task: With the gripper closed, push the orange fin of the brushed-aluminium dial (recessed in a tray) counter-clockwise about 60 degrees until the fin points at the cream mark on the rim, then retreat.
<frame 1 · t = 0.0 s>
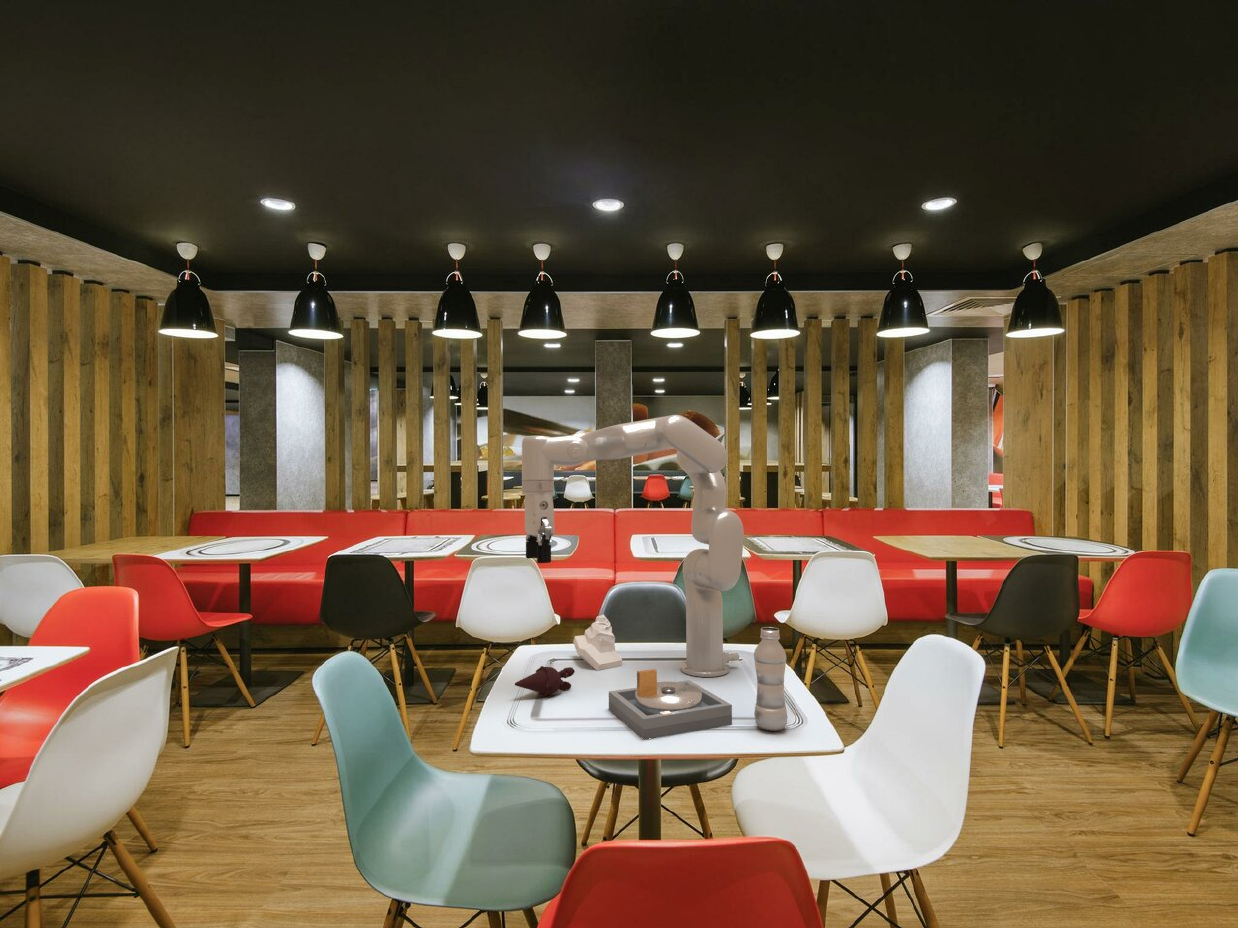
hand: (538, 560, 157), 31 cm above the table, fingers open, 9 cm apart
icecream: (545, 696, 155), on the table
plastic bottle: (770, 729, 135), on the table
tray: (668, 716, 141), on the table
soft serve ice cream: (597, 663, 182), on the table
dial: (668, 686, 141), point 6 cm above the table, hinge at 0.0°
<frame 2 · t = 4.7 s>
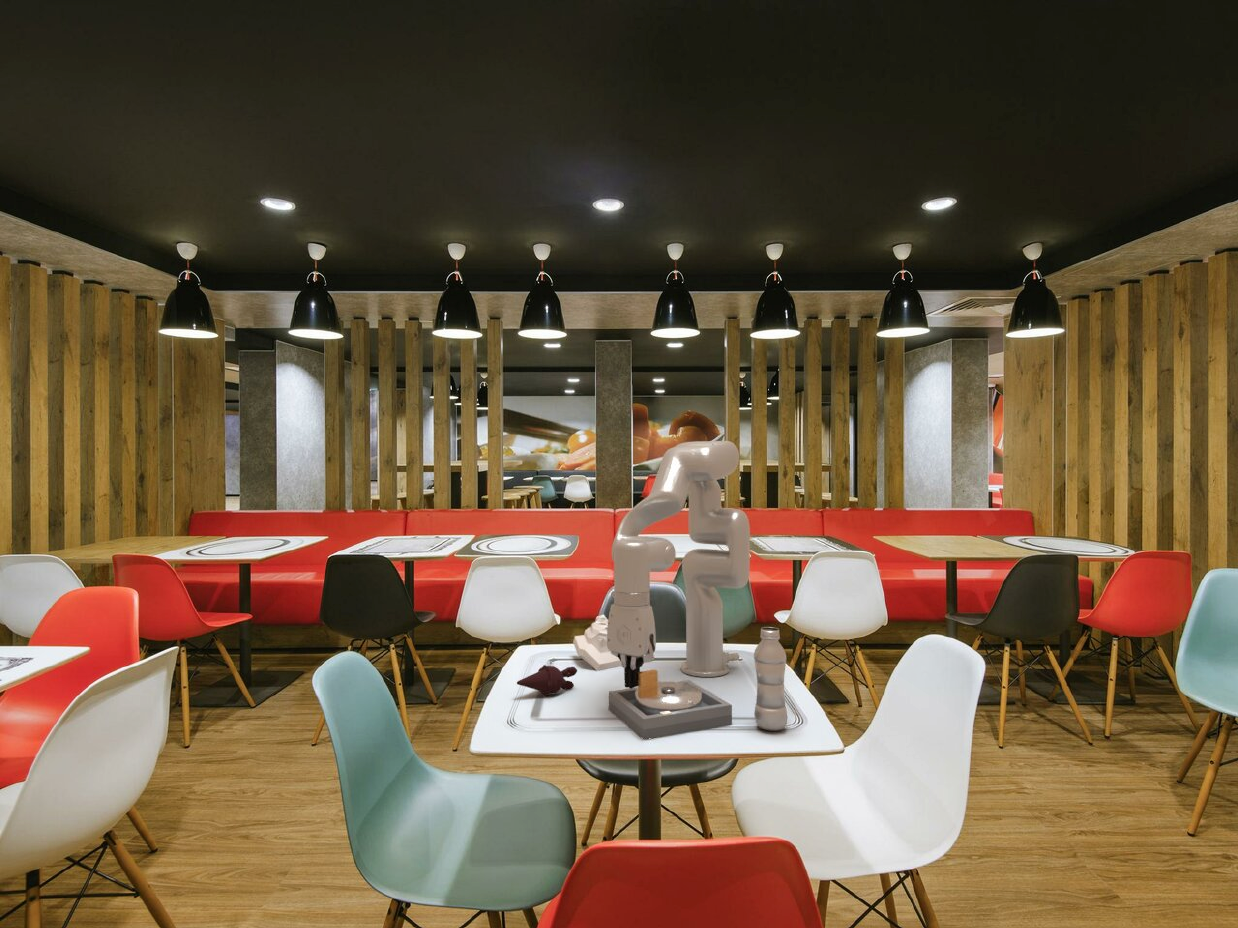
hand: (632, 686, 141), 7 cm above the table, fingers closed
dial: (668, 686, 141), point 6 cm above the table, hinge at 4.9°, touching gripper
everything else where it was.
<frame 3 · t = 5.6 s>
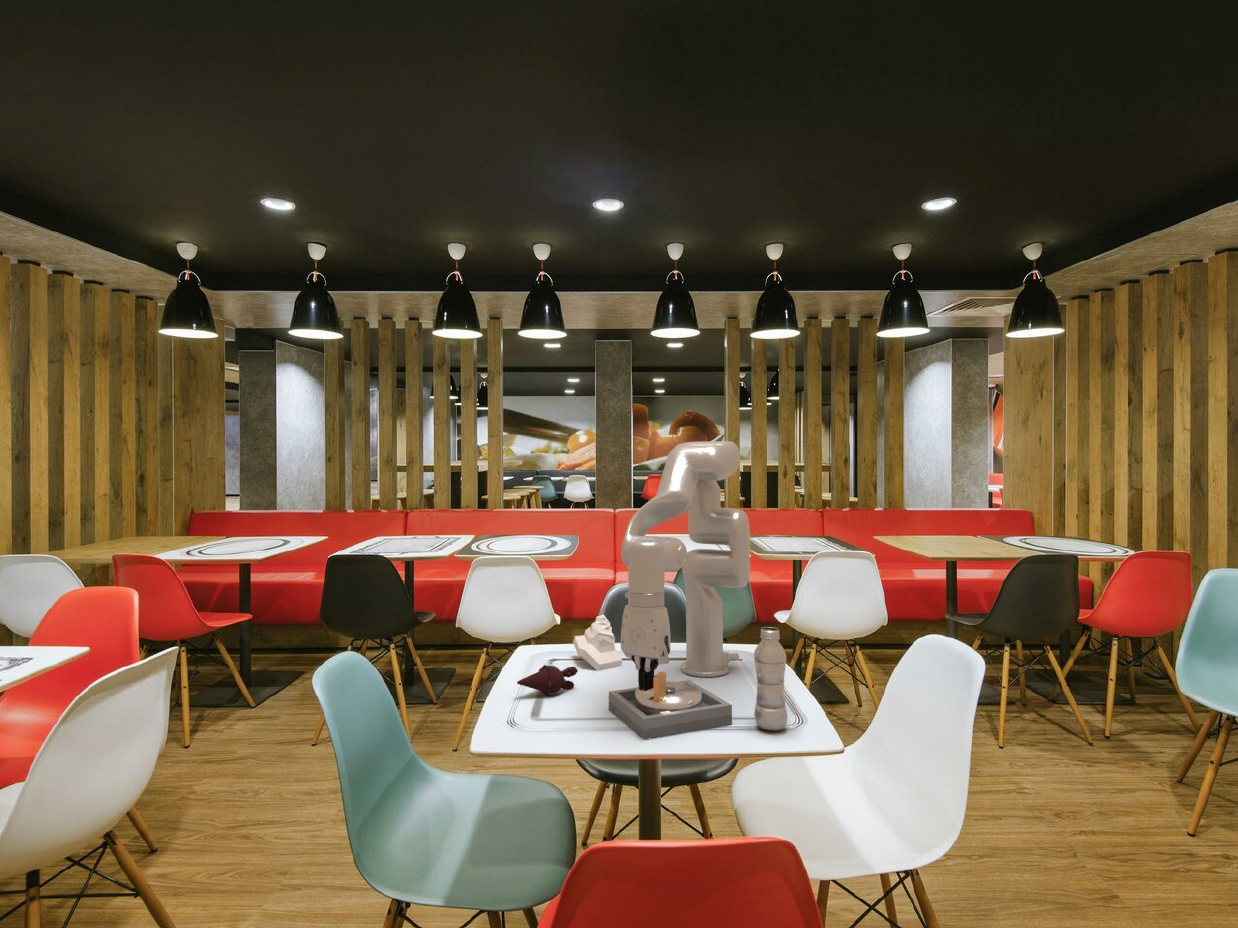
hand: (646, 688, 138), 7 cm above the table, fingers closed
dial: (668, 686, 141), point 6 cm above the table, hinge at 42.7°, touching gripper
everything else where it was.
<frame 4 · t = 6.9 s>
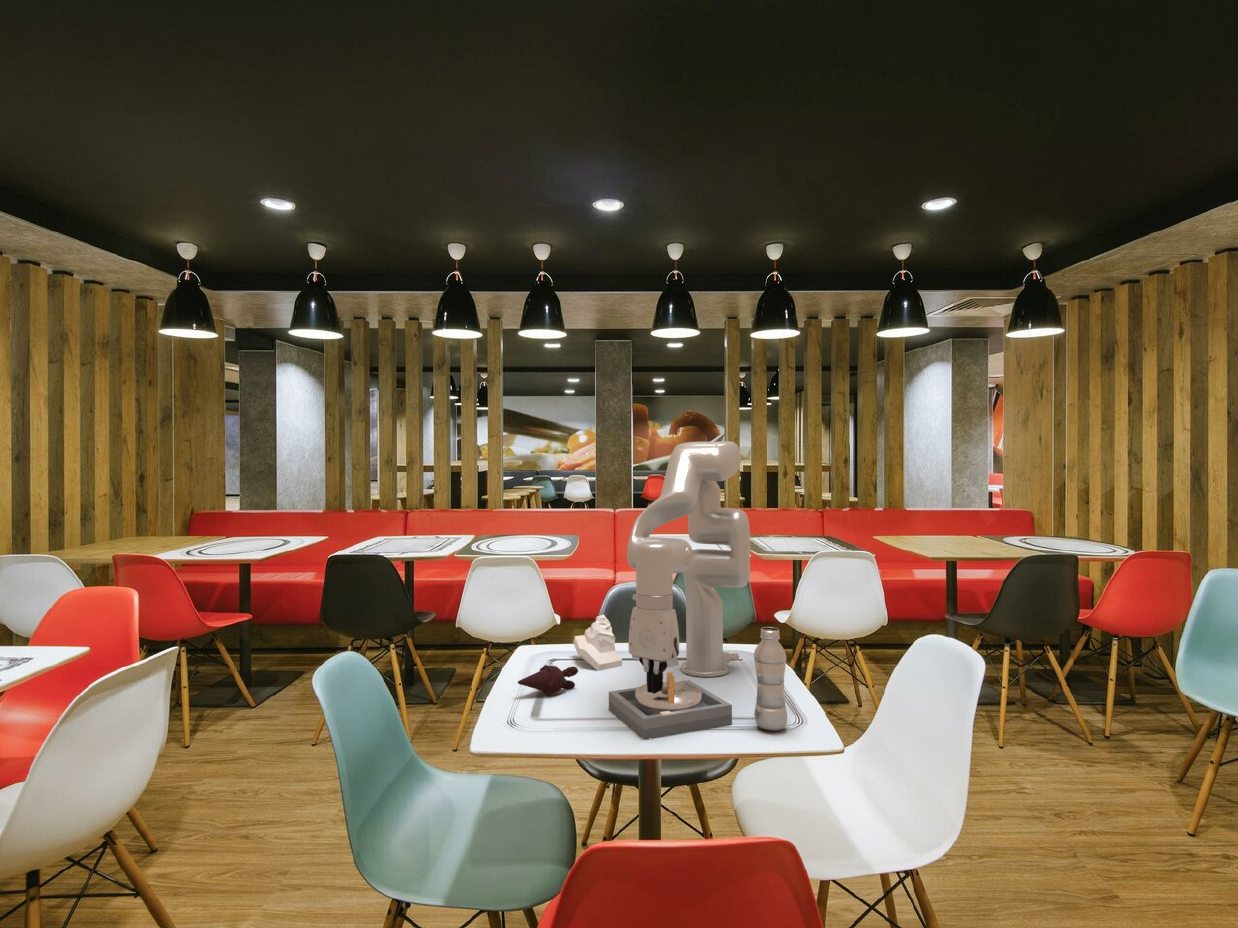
hand: (654, 691, 137), 7 cm above the table, fingers closed
dial: (668, 686, 141), point 6 cm above the table, hinge at 68.3°
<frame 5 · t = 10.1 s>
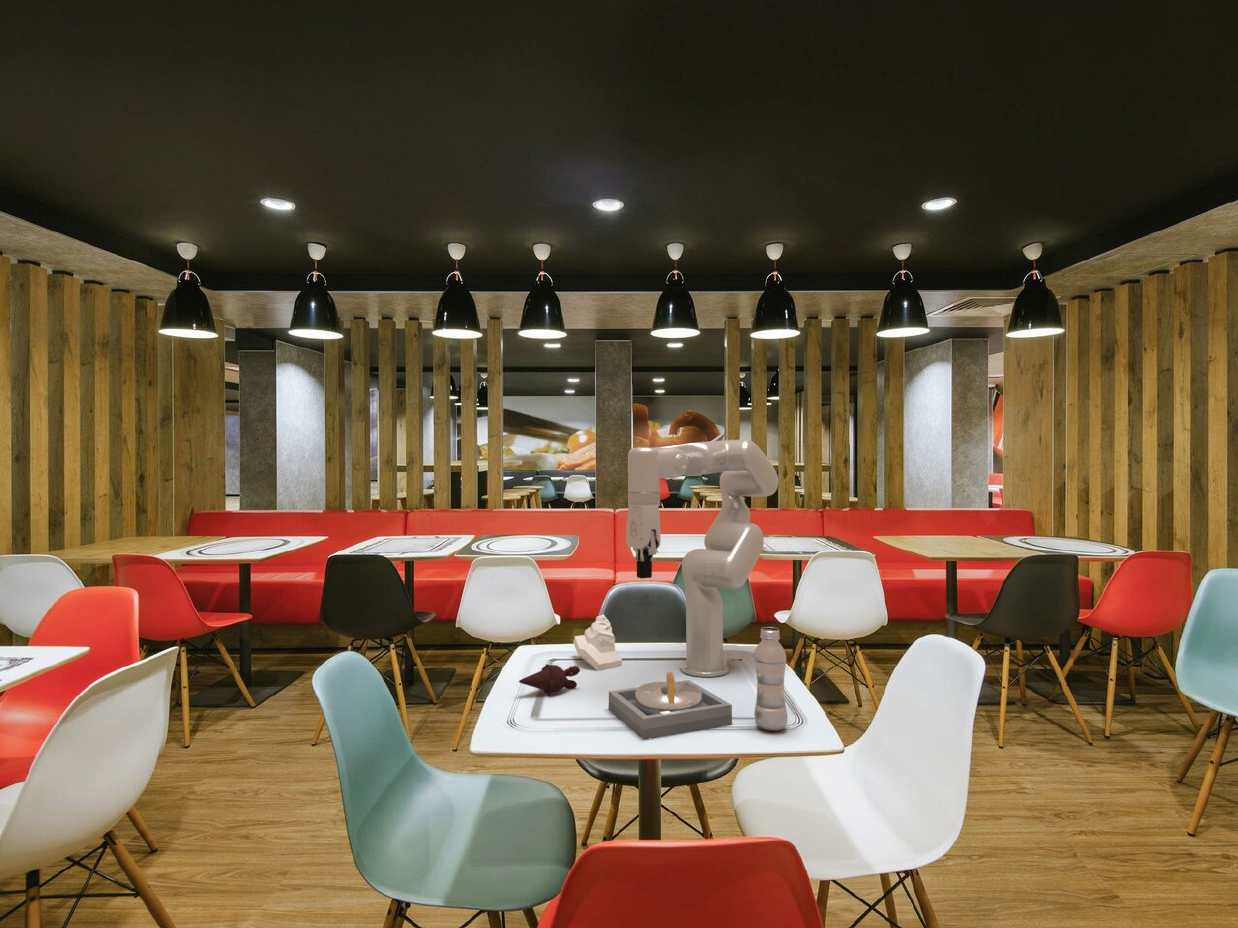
hand: (644, 577, 157), 27 cm above the table, fingers closed
at the end: dial at +68° (first picture: +0°); dial touching nothing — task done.
